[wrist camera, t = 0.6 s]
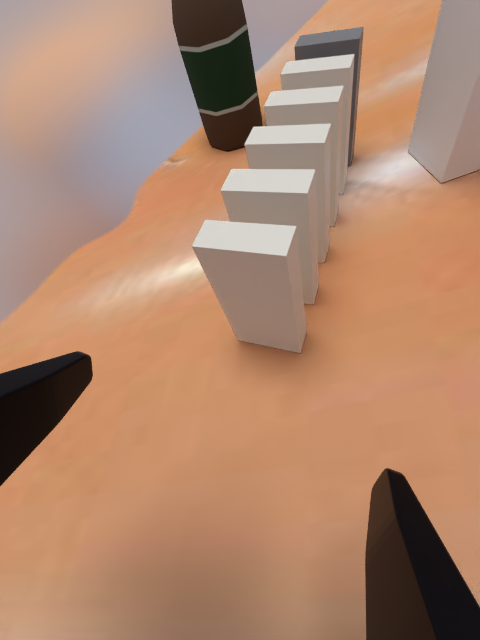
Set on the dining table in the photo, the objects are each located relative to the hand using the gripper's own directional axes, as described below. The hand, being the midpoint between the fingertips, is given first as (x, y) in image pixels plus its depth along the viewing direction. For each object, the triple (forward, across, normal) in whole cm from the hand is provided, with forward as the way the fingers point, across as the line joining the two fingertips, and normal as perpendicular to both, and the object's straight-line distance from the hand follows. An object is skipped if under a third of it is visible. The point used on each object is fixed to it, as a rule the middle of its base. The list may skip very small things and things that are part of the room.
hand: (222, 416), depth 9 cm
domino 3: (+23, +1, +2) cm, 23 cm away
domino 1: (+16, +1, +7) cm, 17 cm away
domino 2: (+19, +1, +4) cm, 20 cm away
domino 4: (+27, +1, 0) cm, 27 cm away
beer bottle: (+40, +14, -6) cm, 43 cm away
